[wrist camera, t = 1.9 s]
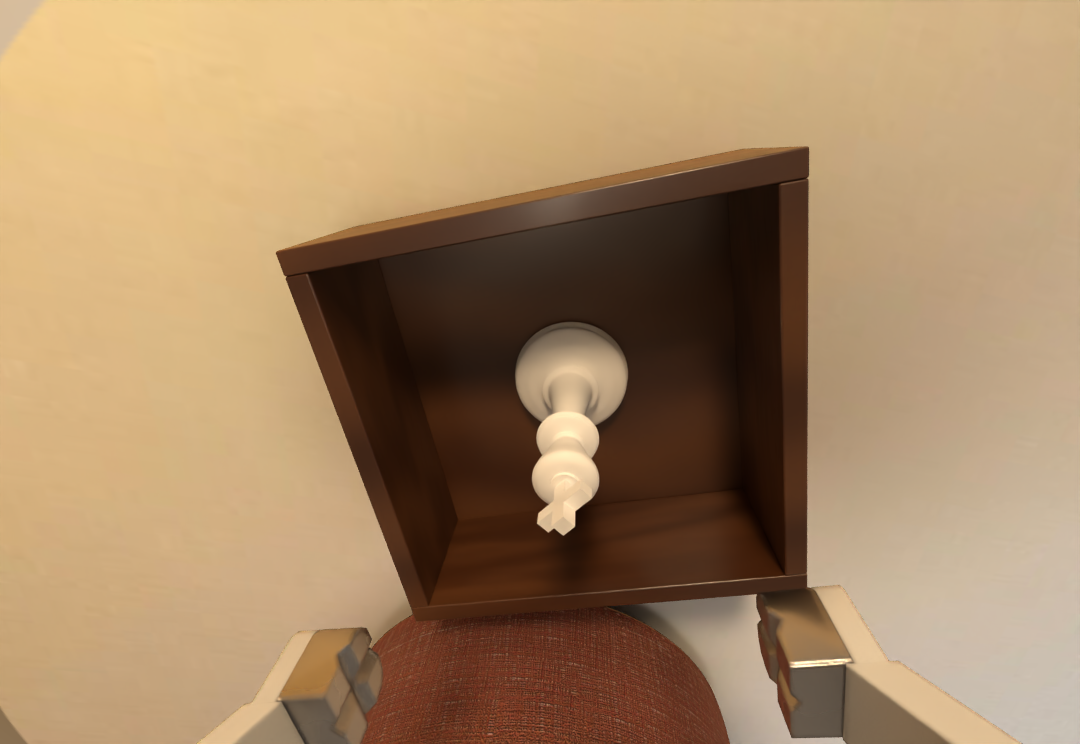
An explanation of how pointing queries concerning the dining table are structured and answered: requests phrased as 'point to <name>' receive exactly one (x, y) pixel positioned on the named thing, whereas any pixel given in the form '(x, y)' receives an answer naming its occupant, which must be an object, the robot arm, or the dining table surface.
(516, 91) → the dining table surface
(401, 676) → the planter
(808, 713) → the robot arm
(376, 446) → the crate
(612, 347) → the chess piece
